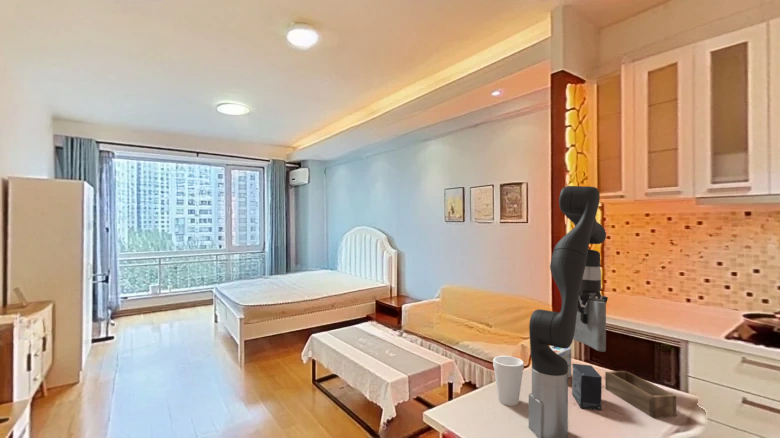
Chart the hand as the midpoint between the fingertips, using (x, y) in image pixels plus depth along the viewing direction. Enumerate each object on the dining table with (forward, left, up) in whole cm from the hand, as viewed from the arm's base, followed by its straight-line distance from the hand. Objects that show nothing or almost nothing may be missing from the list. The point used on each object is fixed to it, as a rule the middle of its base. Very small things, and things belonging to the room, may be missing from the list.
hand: (589, 323), depth 145 cm
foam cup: (-40, -15, -20) cm, 47 cm away
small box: (-15, -19, -20) cm, 32 cm away
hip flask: (0, 0, -8) cm, 8 cm away
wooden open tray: (+2, -21, -20) cm, 29 cm away
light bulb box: (-13, +1, -20) cm, 24 cm away
